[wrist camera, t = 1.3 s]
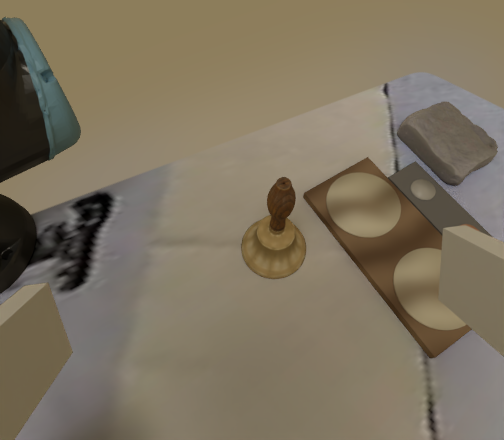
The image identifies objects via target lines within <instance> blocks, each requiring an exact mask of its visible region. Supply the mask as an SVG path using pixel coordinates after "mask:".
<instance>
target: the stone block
mask: <svg viewBox="0 0 504 440" xmlns="http://www.w3.org/2000/svg"><path fill="white" fill-rule="evenodd" d="M397 135H398V137H399V138H400V139H401V140H402V141H403V142H404V143H405V144H406V145H407V146H408V147H409V148H410V149H411V150H412V151H413V152H414V153H415V154H416V155H417V156H418V157H419V158H420V159H421V160H422V161H423V162H424V163H425V164H426V165H427V166H428V167H429V168H430V169H431V170H432V171H433V172H434V173H435V174H436V175H437V176H438V177H439V178H440V179H441V180H442V181H444V182H445V183H447V184H451V185H459V184H460V183H461V182H462V181H463V180H464V178H465V177H466V176H467V175H468V174H470V173H471V172H472V171H476V170H478V169H480V168H481V167H484V166H485V165H487V164H488V163H490V162H491V161H492V159H493V158H494V157H495V155H496V154H497V152H498V151H497V148H498V146H497V144H496V141H495V140H494V139H492V138H491V137H489V136H488V135H487V133H486V132H485V131H484V130H483V129H482V128H481V127H479V126H477V125H474V124H473V123H472V122H471V121H470V120H469V119H468V118H467V117H465V116H464V115H462V114H461V112H460V111H459V110H458V109H457V108H456V107H454V106H453V105H452V104H450V103H449V102H441V103H439V104H435V105H432V106H431V107H429V108H427V109H422V110H420V111H417V112H415V113H413V114H411V115H410V116H408V117H407V118H406V119H405V120H404V122H403V123H402V124H401V125H400V128H399V130H398V133H397Z"/></svg>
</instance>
